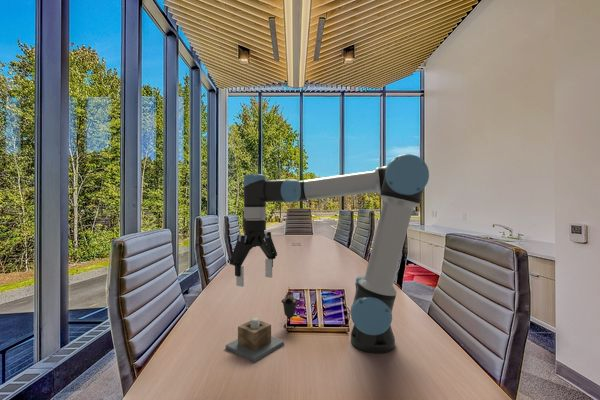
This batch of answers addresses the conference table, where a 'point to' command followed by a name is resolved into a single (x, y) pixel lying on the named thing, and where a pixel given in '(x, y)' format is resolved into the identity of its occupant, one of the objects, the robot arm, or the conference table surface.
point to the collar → (254, 335)
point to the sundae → (289, 305)
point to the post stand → (258, 353)
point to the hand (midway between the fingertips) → (255, 281)
